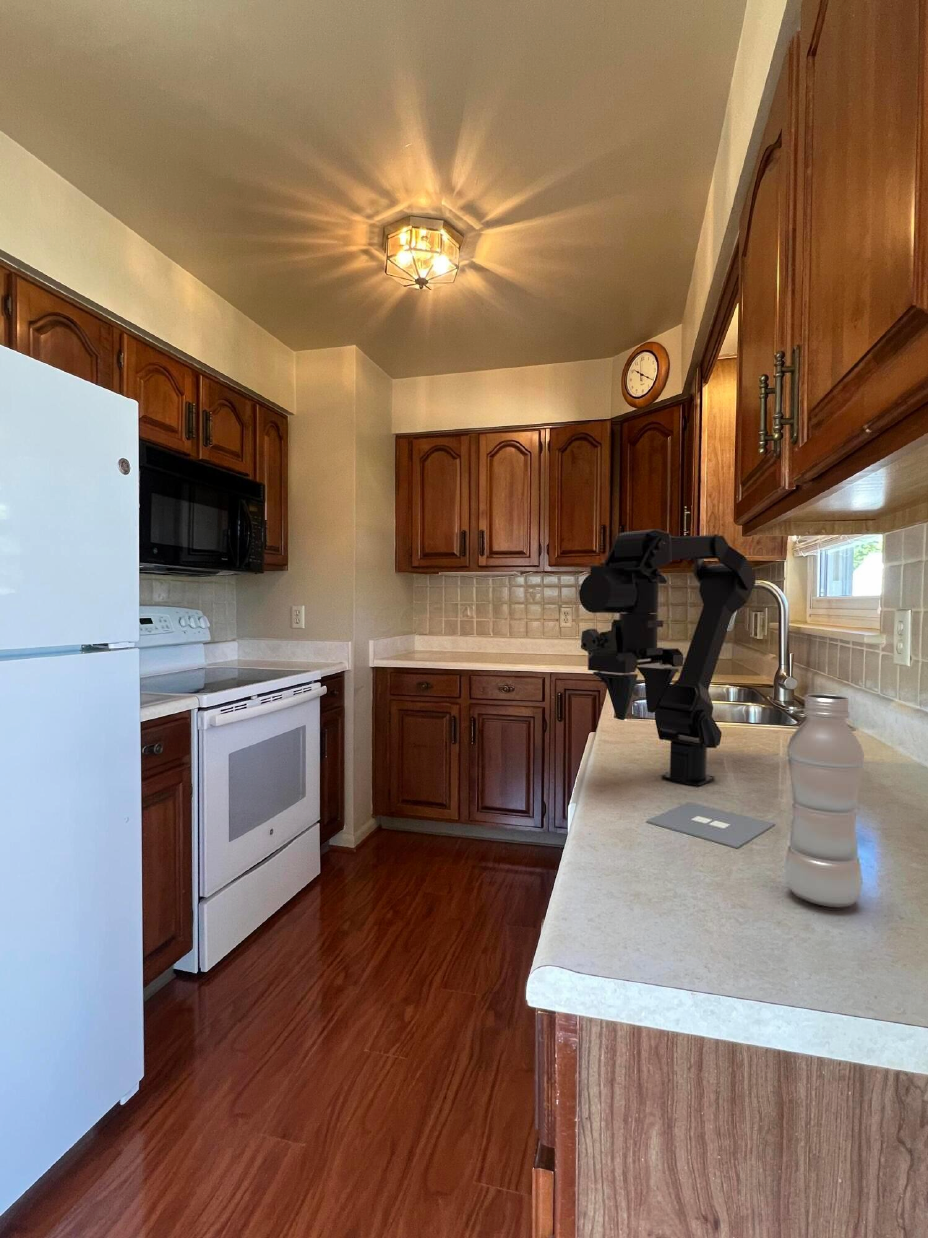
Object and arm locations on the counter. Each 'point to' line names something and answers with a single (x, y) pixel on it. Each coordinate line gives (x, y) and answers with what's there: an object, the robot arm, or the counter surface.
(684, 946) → the counter surface
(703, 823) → the mat
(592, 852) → the counter surface
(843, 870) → the plastic bottle
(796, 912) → the counter surface
